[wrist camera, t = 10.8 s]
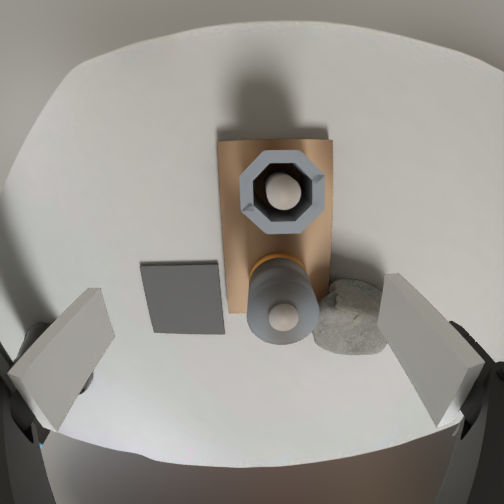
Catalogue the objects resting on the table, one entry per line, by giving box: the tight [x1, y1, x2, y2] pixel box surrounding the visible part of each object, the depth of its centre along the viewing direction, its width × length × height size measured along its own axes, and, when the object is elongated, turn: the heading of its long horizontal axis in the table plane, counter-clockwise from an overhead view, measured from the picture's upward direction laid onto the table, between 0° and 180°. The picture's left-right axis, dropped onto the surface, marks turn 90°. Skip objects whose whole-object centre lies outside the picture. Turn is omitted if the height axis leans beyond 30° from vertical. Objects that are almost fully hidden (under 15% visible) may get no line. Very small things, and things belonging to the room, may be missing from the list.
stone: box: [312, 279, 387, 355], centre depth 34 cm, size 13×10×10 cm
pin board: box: [217, 139, 333, 345], centre depth 28 cm, size 12×20×10 cm, turn 2°
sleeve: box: [239, 150, 325, 234], centre depth 26 cm, size 7×7×8 cm
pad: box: [140, 264, 225, 334], centre depth 36 cm, size 10×10×1 cm
